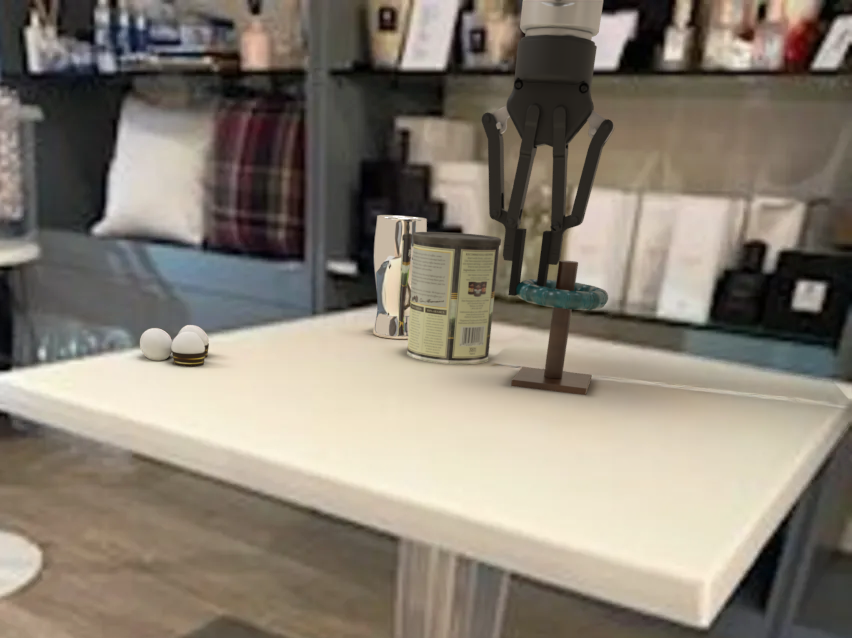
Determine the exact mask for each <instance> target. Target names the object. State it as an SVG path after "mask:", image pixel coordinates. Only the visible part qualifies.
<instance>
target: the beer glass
mask: <svg viewBox="0 0 852 638" xmlns="http://www.w3.org/2000/svg"><path fill="white" fill-rule="evenodd" d="M427 222H428V218H425V217H419V216H409V215H393V214H378V215H376V225H375V233H374V242H373V268H374V269H373V272H374V280H375V288H376V299H377V301H376V303H377V305H376V306H377V309H376V317H375V321H374V326H373V332H372V333H373V335H374V336H376V337H379V338H384V339H390V340H391V339H392V340H408V333H409V316H410V298H411V280H412V264H413V246H414V240H413V233H415V232H428V231H427V230H428V227H427V224H428V223H427Z"/></svg>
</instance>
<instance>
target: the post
mask: <svg viewBox="0 0 852 638" xmlns="http://www.w3.org/2000/svg"><path fill="white" fill-rule="evenodd" d="M578 268H579V262H578V261H574V260H564V259H563V260H561V259H560V260H559V262H558V267H557V274H556V280H557V281H556V289H561V290H568V291H574V290H575V283H577V275H578ZM572 310H573V309H562V308H555V307H552V312H551V320H550V327H549V335H548V341H547V342H548V343H547V349H546V350H547V351H546V356H545V364H544V365H545V366H544V368H539V367H530V366H521V368H520V369H519V370H518V371H517V372H516V374H515V375H514V376H513V378H512V379H511V383H510V386H511V387H514V388H522V389H532V390H540V391H548V392H557V393H564V394H573V395H583V396H586V395H587V392H588V391H589V387H590V385H591V382H592V376H593V374H591V373H582V372H574V371H564V367H565V361H566V359H565V358H566V353H567V347H568V346H567V345H568V338H569V330H570V325H571V317H572Z"/></svg>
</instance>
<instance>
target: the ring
mask: <svg viewBox="0 0 852 638" xmlns="http://www.w3.org/2000/svg"><path fill="white" fill-rule="evenodd" d="M556 281H557V279H548V278H547V284H546V287H542V286H538V285H537V278H528V279H527V278H526V279H524V280H521V281H520V283H519V284H518V286H517V288H516V294H517V295H516V296H517V297H518V298H519V299H521V300H523V301H525V302H527V303H530V304H534V305H537V306H538V305H539V306H542V307H543V306H544V307H549V308H553V307H555V308H562V309H572V310H574V311H575V310H578V311H593V310H601V309H603V308H604V307H605V306H606V304H607V303H608V301H609V294H608V292H607V291H606V290H605V289H603V288H600V287H598V286H596V285H591V284H585V283H582V282H576V283H575V290H574V291H568V290H561V289H556Z"/></svg>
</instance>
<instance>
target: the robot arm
mask: <svg viewBox="0 0 852 638" xmlns="http://www.w3.org/2000/svg"><path fill="white" fill-rule="evenodd" d="M603 7H604V0H522V4H521V13H520V21H519V22H520V23H519V29H520V30H521V32H522V33H523V34H525V35H524V36H523V37H521V38H520V40H518V43H517V51H516V60H515V71H514V80H513V86H512V91H511V92H510V95H509V96H508V98H507V100H506V105H504V106H502V107H501V108H500V107H499V108H498V109H496V110H494V111H493V112H488V111H487V112H484V113H483V114H482V116H481V123H482V127H483V129H484V132H485V135H486V138H487V159H488V160H487V161H488V164H487V166H488V167H487V168H488V213H489V214H488V215H489V217H490V219H492V220H494V221H496V222H498V223H500V224H502V225H503V226H504V231H505V232H504V240H503V249H502V258H503V261H507V262H509V261H510V262H511V269H510V277H509V286H508V296H511V297H516V296H517V294H516V288H517V286H518V284H519V283H521V281H522V273H523V272H522V271H523V263H524V255H525V245H526V238H527V228H523V227H520V226H521V224H522V216H523V213H524V212H523V211H524V208H525V202H526V199H527V194H528V189H529V185H530V180H531V175H532V171H533V166H534V161H535V157H536V154H537V150H538V147H543V146H549V147H551V148H552V175H551V177H552V179H551V181H552V182H551V210H550V211H551V213H550V214H551V216H550V227H549V228H550V230H544V231H542V237H541V238H542V239H541V245H540V253H539V262H538V270H537V271H538V272H537V277H536V279H537V285H538V286H542V287H546V284H547V279H548V278H549V277H548V276H549V269H550V268H549V267H550V265H553V266H557V265H559V261H561V257H562V249H563V242H564V241H563V240H564V236H565V235H564V234H565V233H566V231H567V230H568V229H572V228H575V227H578V226H580V225H582V224H583V222H584V219H585V215H586V212H587V208H588V204H589V201H590V197H591V194H592V189H593V186H594V182H595V178H596V174H597V171H598V167H599V163H600V160H601V156H602V153H603V148H604V146H605V145H606V144H607V142H608V140H609V139H610V137H611V136H612V134H613V132H614V130H615V124H614V122H613V120H611V119H608V118H605V117H604V116H603V115H601V114H599V113H598V112H596V111H595V110H594V109H595V108H594V107H595V106H594V102H593V99H592V85H593V78H594V77H593V76H594V69H595V63H596V56H597V48H598V46H597V45H596V42H595V41H593V40H592V39H593V38H594V37H596V36H597V35H599V32H600V27H601V22H602V21H601V20H602V14H603V12H602V11H603ZM509 118H510V120H511V121H512V124H513V125H514V127H515V129H516V131H517V134H518V136H519V137H520V140H521V143H520V147H519V156H518V160H517V165H516V170H515V175H514V180H513V185H512V188H511V189H512V190H511V193H510V198H509V204H508V208H507V209H506V208H505V207H506V206H505V144H504V135H503V134H504V133H505V132H506V131H507V129H508V120H509ZM587 122H588V124H589V128H588V131H587V134H588V137H589V138H590V139H591V140H590V142H589V144H588V148H587V152H586V155H585V159H584V163H583V167H582V171H581V175H580V178H579V182H578V186H577V188H576V189H577V190H576V194H575V198H574V201H573V205H572V208H571V213H570V214H569V215H566V214H567V213H566V212H567V187H568V185H567V184H568V159H569V144H570V143H571V142H572V141H573V139H574V138H575V137H576V136H577V135H578V133H579V132H580V131H581V129H582V128H584V126H585V124H586V123H587Z"/></svg>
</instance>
